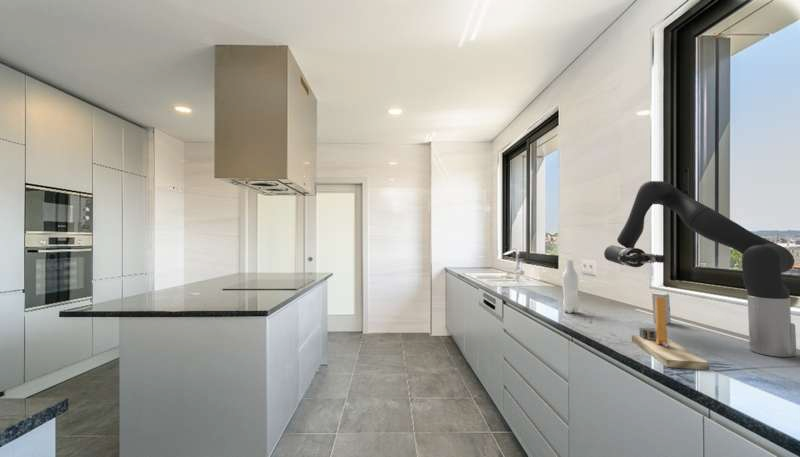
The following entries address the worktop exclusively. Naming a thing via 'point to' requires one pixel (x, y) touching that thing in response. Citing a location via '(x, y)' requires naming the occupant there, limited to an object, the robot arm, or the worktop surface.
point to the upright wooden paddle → (660, 322)
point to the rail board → (671, 354)
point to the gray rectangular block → (644, 333)
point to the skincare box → (668, 318)
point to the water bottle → (570, 288)
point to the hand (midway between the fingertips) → (648, 259)
